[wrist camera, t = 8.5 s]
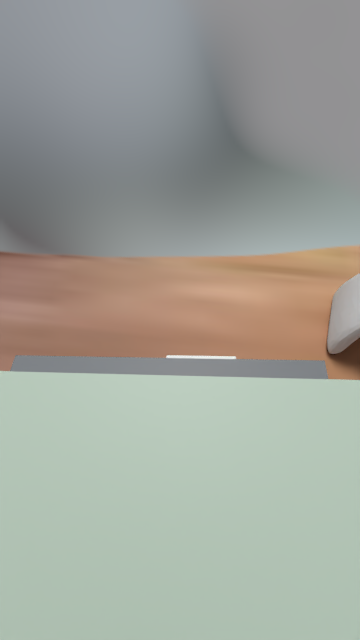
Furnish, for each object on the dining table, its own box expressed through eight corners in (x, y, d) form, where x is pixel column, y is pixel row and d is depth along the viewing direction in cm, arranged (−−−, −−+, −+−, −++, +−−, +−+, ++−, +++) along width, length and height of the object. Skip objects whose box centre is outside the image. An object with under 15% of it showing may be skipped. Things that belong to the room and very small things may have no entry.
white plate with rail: (300, 378, 17) (323, 354, 14) (348, 679, 11) (407, 765, 8) (51, 372, 19) (17, 350, 15) (-22, 632, 13) (-102, 687, 10)
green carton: (254, 449, 14) (390, 365, 4) (262, 557, 12) (620, 1078, 2) (146, 444, 15) (-8, 357, 4) (135, 546, 13) (-218, 880, 2)
